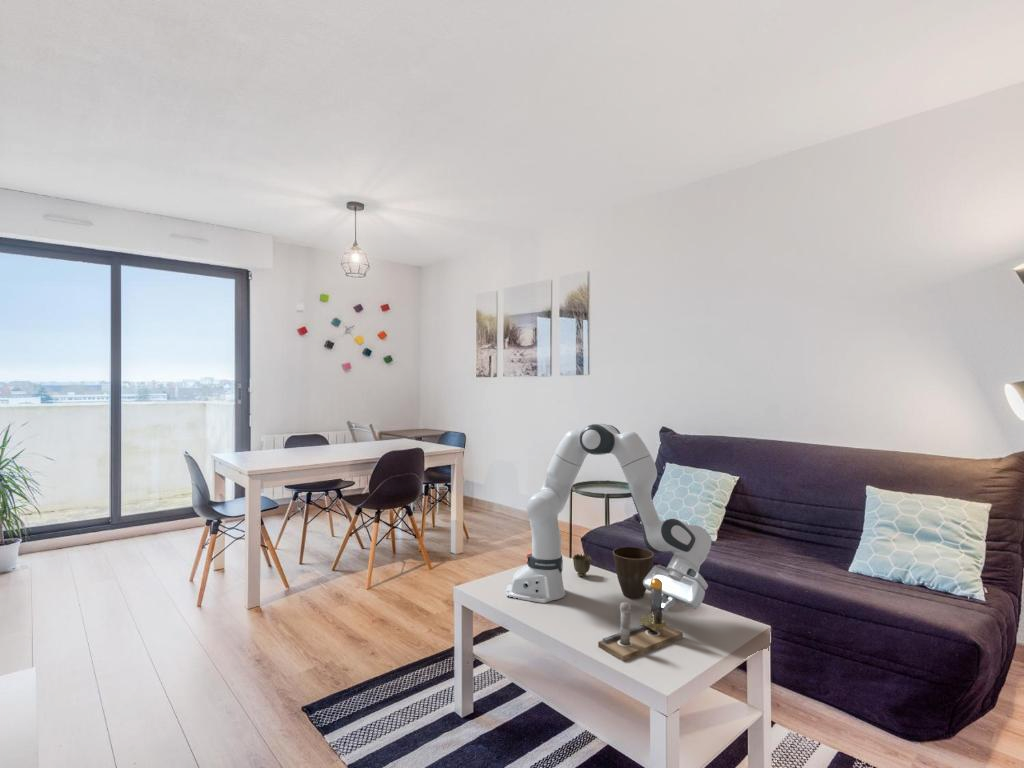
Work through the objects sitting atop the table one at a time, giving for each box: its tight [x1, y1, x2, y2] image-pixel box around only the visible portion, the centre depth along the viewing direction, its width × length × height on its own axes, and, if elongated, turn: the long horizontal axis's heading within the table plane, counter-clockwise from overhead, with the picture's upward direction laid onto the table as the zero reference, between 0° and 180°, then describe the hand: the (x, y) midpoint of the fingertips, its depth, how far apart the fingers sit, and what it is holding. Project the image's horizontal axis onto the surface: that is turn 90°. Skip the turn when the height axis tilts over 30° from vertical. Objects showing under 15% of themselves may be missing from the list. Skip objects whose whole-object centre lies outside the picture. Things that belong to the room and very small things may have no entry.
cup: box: [572, 553, 592, 578], centre depth 212 cm, size 8×7×8 cm
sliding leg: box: [639, 579, 666, 631], centre depth 160 cm, size 4×6×16 cm
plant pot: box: [612, 546, 655, 600], centre depth 191 cm, size 15×15×16 cm
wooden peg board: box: [597, 601, 684, 662], centre depth 155 cm, size 26×10×13 cm, turn 124°
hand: (661, 609), depth 160 cm, fingers closed, pressing on sliding leg
